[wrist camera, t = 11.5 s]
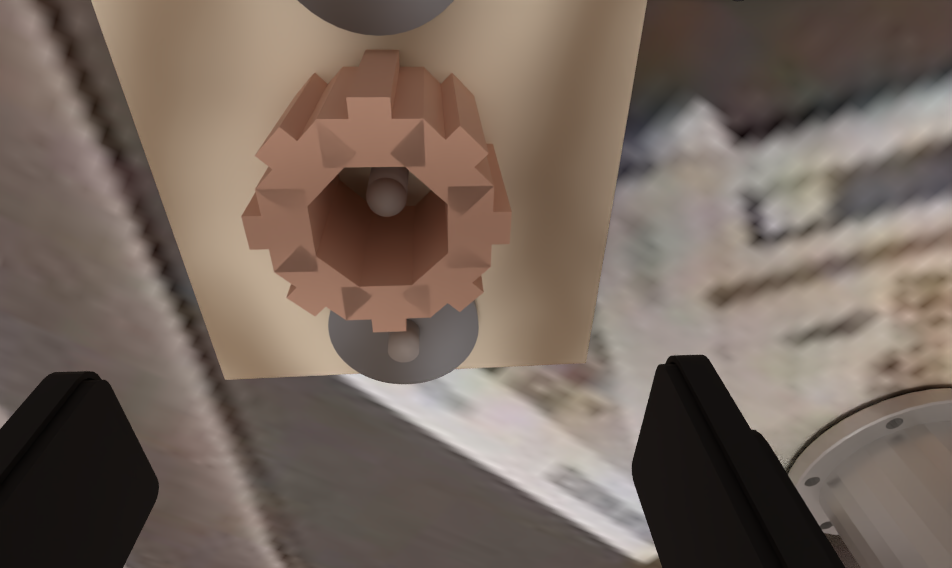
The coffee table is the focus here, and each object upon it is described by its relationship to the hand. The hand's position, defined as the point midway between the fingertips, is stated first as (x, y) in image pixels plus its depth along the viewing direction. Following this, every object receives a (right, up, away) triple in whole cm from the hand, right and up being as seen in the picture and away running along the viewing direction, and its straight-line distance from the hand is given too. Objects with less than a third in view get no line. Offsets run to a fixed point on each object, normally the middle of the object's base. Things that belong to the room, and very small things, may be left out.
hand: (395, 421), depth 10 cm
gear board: (-2, +7, +10) cm, 12 cm away
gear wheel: (-2, +7, +9) cm, 11 cm away
